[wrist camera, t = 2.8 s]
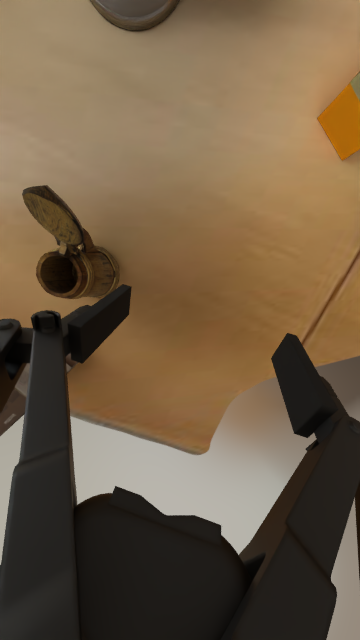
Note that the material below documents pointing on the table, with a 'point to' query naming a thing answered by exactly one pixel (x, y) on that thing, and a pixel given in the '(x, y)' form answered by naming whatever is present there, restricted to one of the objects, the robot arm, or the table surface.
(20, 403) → the coffee box
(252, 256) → the table surface
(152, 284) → the table surface
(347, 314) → the table surface
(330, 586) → the robot arm
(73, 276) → the wooden mug
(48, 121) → the table surface
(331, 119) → the orange juice
